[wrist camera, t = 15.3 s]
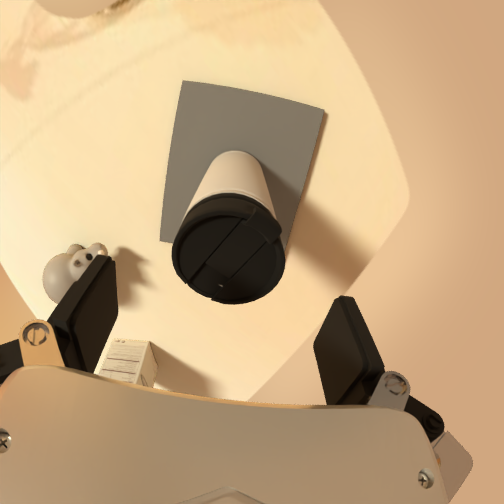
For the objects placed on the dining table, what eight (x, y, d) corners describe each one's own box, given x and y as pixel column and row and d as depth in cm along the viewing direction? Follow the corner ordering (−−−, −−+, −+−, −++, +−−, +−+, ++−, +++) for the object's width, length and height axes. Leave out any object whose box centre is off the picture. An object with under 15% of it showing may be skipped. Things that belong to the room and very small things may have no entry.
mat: (184, 80, 28) (182, 80, 27) (322, 109, 30) (324, 109, 29) (161, 238, 37) (159, 240, 36) (280, 259, 39) (281, 262, 38)
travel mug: (275, 169, 32) (316, 256, 15) (239, 211, 35) (237, 331, 17) (232, 135, 30) (218, 179, 13) (197, 180, 33) (146, 276, 15)
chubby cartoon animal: (132, 258, 38) (110, 294, 31) (80, 288, 40) (57, 322, 33) (103, 216, 35) (73, 245, 28) (54, 253, 37) (25, 283, 30)
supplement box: (159, 367, 49) (146, 423, 38) (123, 363, 49) (106, 416, 38) (150, 339, 46) (132, 400, 35) (112, 336, 46) (89, 392, 34)
